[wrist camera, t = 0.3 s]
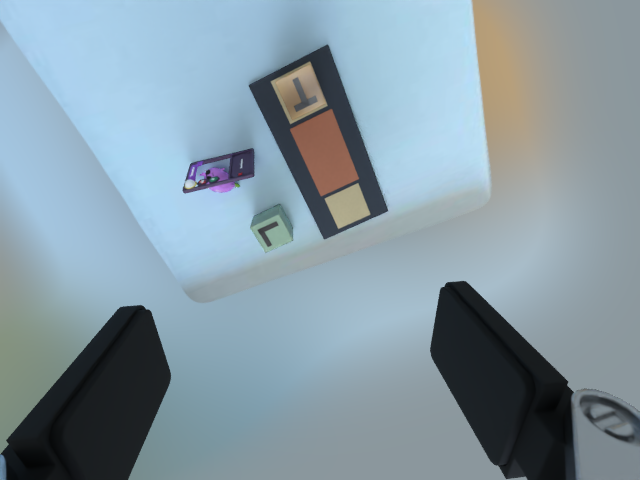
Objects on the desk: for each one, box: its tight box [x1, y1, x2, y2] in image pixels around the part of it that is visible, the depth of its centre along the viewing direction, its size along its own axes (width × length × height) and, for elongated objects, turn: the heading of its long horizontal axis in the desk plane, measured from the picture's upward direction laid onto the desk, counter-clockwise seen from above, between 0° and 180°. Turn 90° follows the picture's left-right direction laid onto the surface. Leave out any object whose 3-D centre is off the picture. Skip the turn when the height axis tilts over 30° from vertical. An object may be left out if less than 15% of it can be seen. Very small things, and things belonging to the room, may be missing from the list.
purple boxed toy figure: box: [183, 149, 254, 193], centre depth 40 cm, size 7×5×9 cm
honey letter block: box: [275, 64, 326, 120], centre depth 36 cm, size 4×4×5 cm
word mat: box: [249, 45, 388, 239], centre depth 42 cm, size 24×11×1 cm, turn 24°
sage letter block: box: [250, 204, 293, 253], centre depth 44 cm, size 4×4×5 cm
